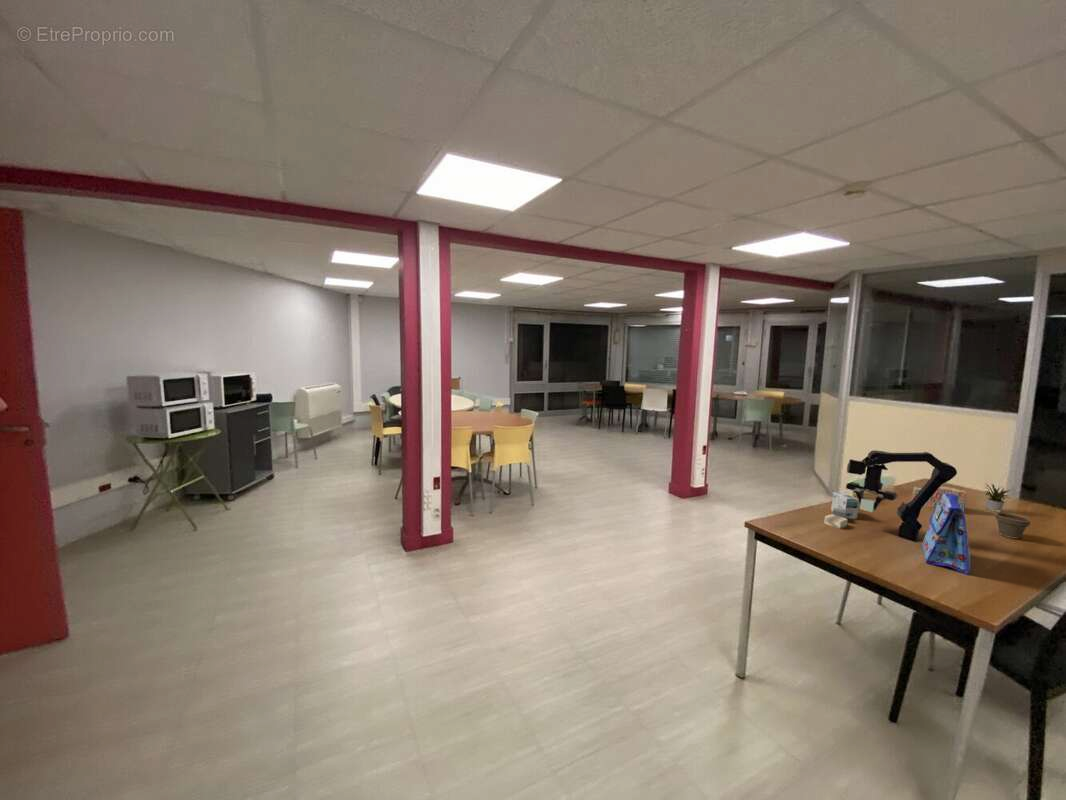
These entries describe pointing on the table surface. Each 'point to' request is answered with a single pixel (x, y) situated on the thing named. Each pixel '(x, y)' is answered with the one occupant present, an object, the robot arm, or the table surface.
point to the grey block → (839, 512)
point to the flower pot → (1011, 524)
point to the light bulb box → (845, 504)
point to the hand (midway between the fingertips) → (868, 507)
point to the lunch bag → (947, 536)
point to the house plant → (996, 498)
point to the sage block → (867, 504)
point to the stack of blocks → (938, 494)
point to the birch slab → (835, 521)
